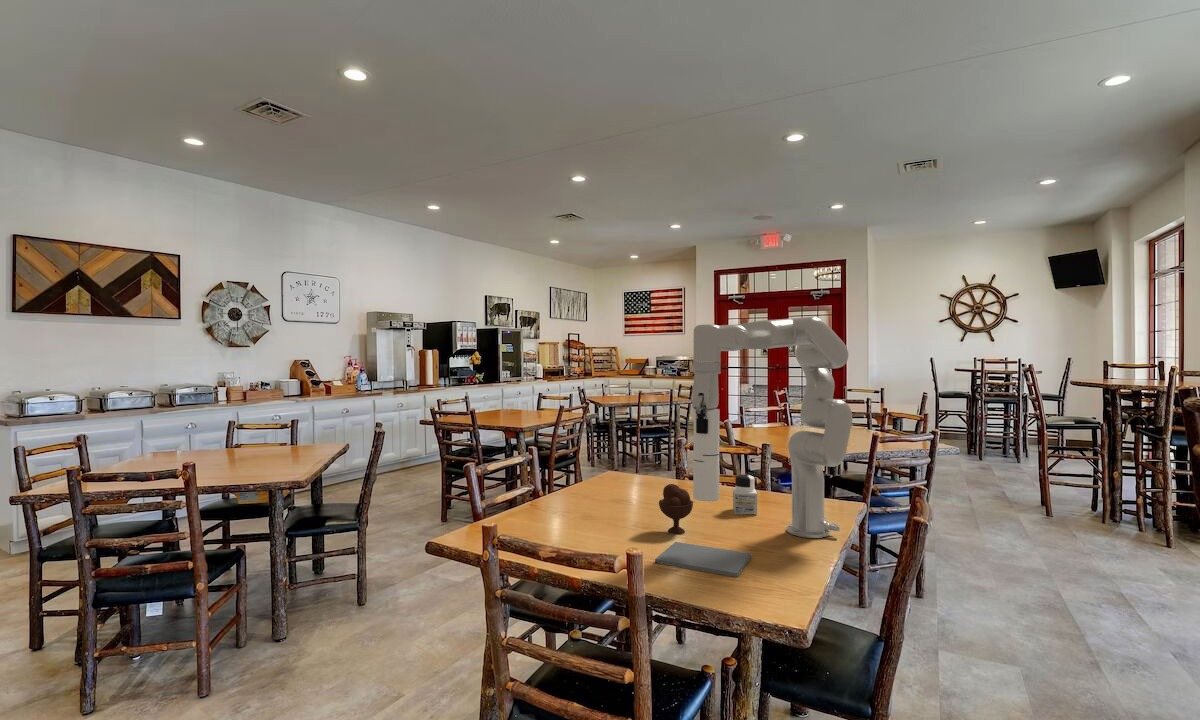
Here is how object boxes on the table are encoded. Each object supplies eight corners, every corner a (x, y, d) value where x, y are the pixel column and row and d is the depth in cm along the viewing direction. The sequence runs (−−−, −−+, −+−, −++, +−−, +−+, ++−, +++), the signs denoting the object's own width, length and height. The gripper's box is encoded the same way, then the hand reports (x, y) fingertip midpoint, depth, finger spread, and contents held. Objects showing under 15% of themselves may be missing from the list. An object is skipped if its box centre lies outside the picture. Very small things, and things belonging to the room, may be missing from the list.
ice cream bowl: (670, 539, 170) (670, 489, 170) (652, 529, 180) (652, 482, 180) (700, 534, 174) (700, 486, 174) (681, 525, 185) (681, 479, 184)
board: (751, 557, 155) (751, 553, 155) (737, 577, 141) (737, 573, 141) (675, 545, 165) (675, 541, 165) (655, 562, 151) (655, 559, 151)
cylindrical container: (718, 502, 154) (719, 410, 154) (692, 500, 155) (692, 410, 156) (719, 496, 161) (719, 408, 161) (694, 494, 162) (694, 408, 163)
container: (734, 514, 197) (734, 477, 197) (733, 508, 205) (733, 472, 205) (757, 515, 196) (757, 478, 196) (755, 509, 203) (754, 473, 203)
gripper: (703, 368, 168) (703, 427, 168) (683, 368, 152) (683, 434, 152) (728, 368, 164) (728, 429, 164) (710, 369, 149) (710, 436, 149)
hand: (706, 431), depth 158 cm, fingers closed on cylindrical container, 7 cm apart
